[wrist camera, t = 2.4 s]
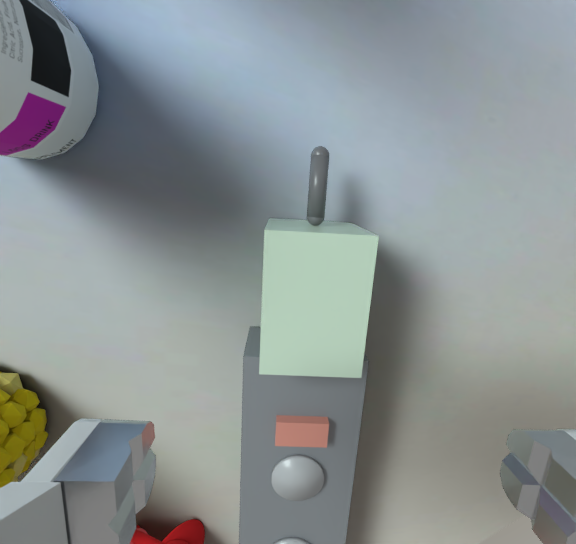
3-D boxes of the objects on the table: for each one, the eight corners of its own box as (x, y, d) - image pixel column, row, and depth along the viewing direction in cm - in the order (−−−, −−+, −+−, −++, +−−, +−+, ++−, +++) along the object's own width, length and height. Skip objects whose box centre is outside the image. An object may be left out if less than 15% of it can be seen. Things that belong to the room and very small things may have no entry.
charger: (357, 155, 19) (390, 140, 13) (336, 359, 22) (356, 419, 16) (272, 150, 19) (267, 132, 13) (263, 356, 22) (257, 416, 16)
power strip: (353, 331, 22) (371, 366, 18) (324, 588, 28) (332, 664, 23) (249, 326, 22) (242, 362, 17) (242, 586, 28) (235, 663, 23)
